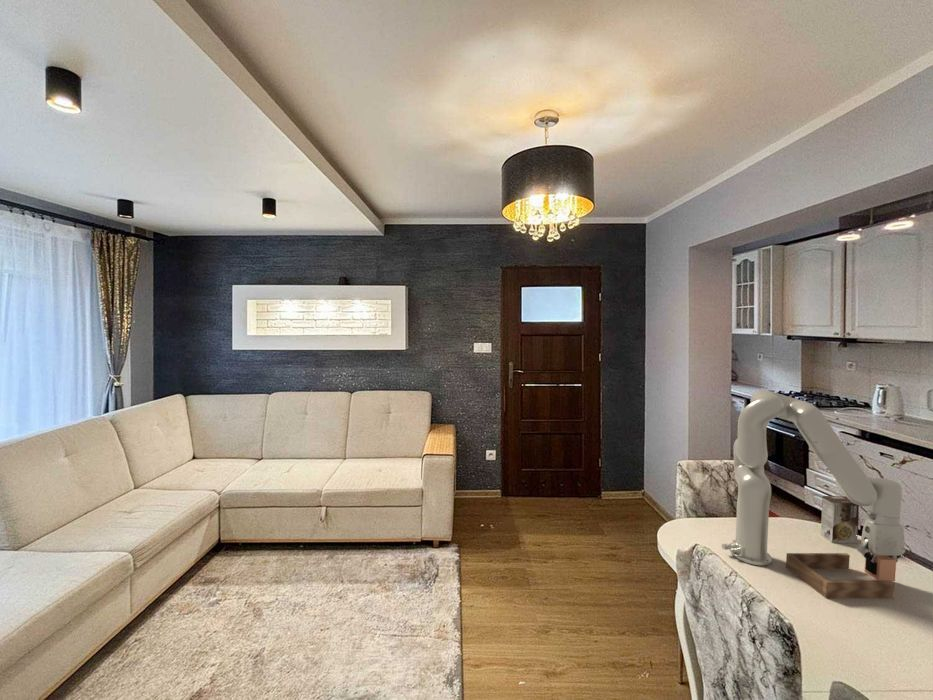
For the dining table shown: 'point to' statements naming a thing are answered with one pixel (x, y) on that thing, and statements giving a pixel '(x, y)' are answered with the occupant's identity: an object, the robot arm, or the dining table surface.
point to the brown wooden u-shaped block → (835, 588)
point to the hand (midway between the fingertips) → (879, 571)
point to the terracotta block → (884, 568)
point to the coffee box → (839, 519)
